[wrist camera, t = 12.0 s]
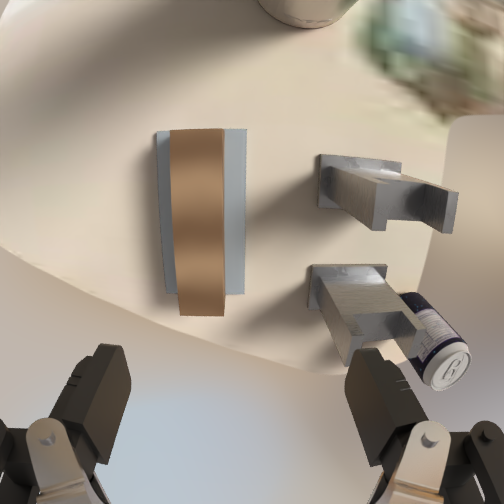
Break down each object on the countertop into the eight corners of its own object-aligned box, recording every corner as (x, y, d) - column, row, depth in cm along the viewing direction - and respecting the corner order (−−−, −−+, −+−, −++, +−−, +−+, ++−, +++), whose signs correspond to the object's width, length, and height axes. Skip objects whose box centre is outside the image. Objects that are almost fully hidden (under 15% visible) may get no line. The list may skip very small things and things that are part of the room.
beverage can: (374, 326, 34) (416, 395, 23) (393, 285, 32) (447, 347, 21) (409, 330, 35) (454, 392, 24) (428, 292, 33) (483, 348, 22)
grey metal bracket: (320, 154, 27) (366, 165, 17) (398, 162, 27) (467, 180, 17) (317, 206, 29) (358, 245, 19) (393, 210, 29) (456, 247, 19)
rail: (179, 131, 25) (169, 130, 21) (224, 129, 25) (222, 128, 22) (186, 294, 31) (180, 315, 27) (225, 294, 31) (223, 316, 27)
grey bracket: (312, 264, 31) (344, 326, 21) (385, 264, 31) (437, 317, 21) (307, 307, 33) (332, 376, 22) (377, 304, 33) (420, 364, 23)
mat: (158, 131, 26) (156, 131, 25) (246, 129, 26) (246, 129, 25) (167, 290, 31) (166, 293, 31) (244, 291, 32) (244, 294, 31)
